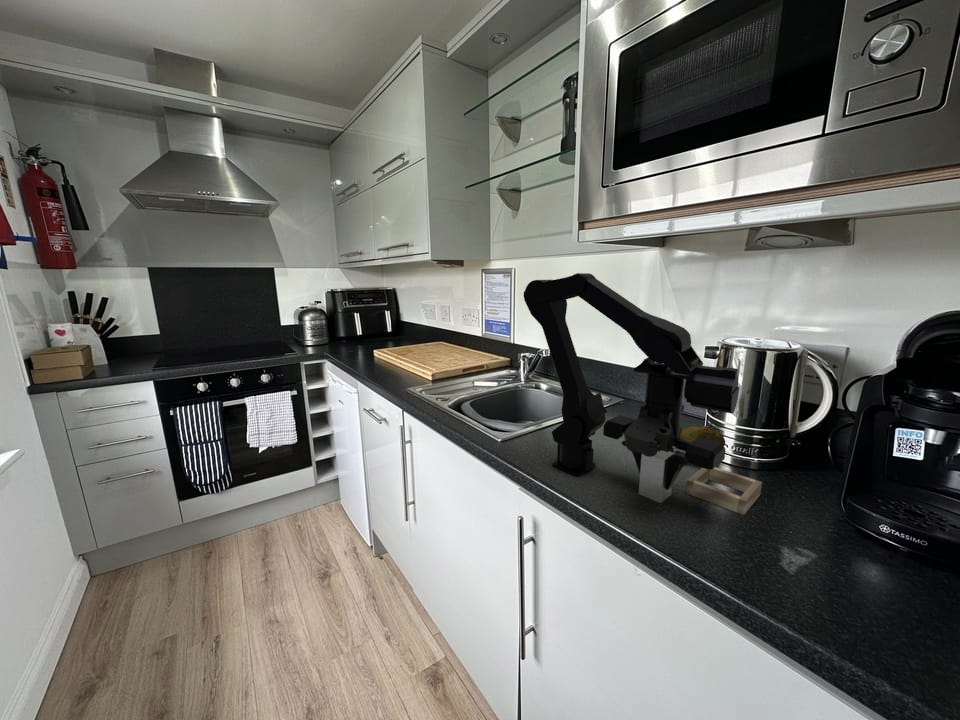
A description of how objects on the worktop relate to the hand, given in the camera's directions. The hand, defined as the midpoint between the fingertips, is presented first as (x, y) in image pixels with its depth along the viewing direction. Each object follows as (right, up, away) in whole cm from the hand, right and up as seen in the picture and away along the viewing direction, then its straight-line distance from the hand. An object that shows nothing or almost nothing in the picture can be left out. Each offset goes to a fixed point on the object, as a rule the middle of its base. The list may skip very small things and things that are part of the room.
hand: (655, 484), depth 68 cm
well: (+12, -2, 0) cm, 12 cm away
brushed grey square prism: (0, -2, 0) cm, 2 cm away
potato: (+13, +1, +14) cm, 19 cm away
